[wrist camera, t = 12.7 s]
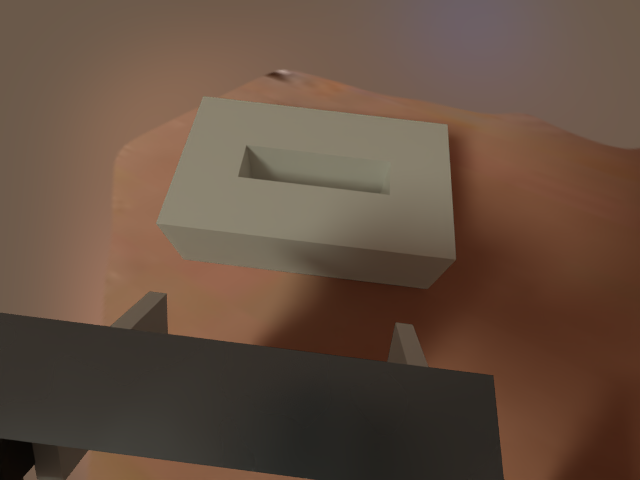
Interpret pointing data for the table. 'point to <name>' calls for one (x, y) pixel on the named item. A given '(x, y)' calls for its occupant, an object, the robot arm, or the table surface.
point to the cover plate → (243, 405)
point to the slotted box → (313, 193)
